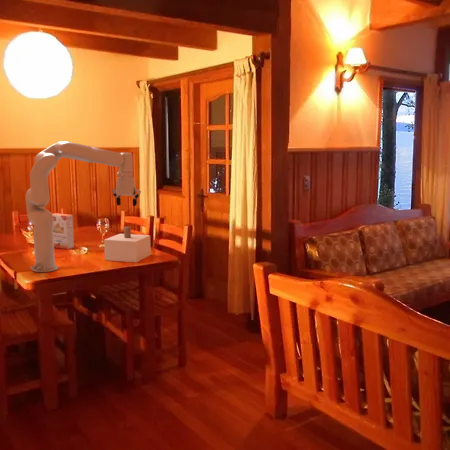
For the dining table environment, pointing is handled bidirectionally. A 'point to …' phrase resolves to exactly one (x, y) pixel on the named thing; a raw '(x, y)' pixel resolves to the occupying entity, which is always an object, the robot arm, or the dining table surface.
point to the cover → (127, 247)
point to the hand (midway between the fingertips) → (126, 205)
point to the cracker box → (63, 231)
